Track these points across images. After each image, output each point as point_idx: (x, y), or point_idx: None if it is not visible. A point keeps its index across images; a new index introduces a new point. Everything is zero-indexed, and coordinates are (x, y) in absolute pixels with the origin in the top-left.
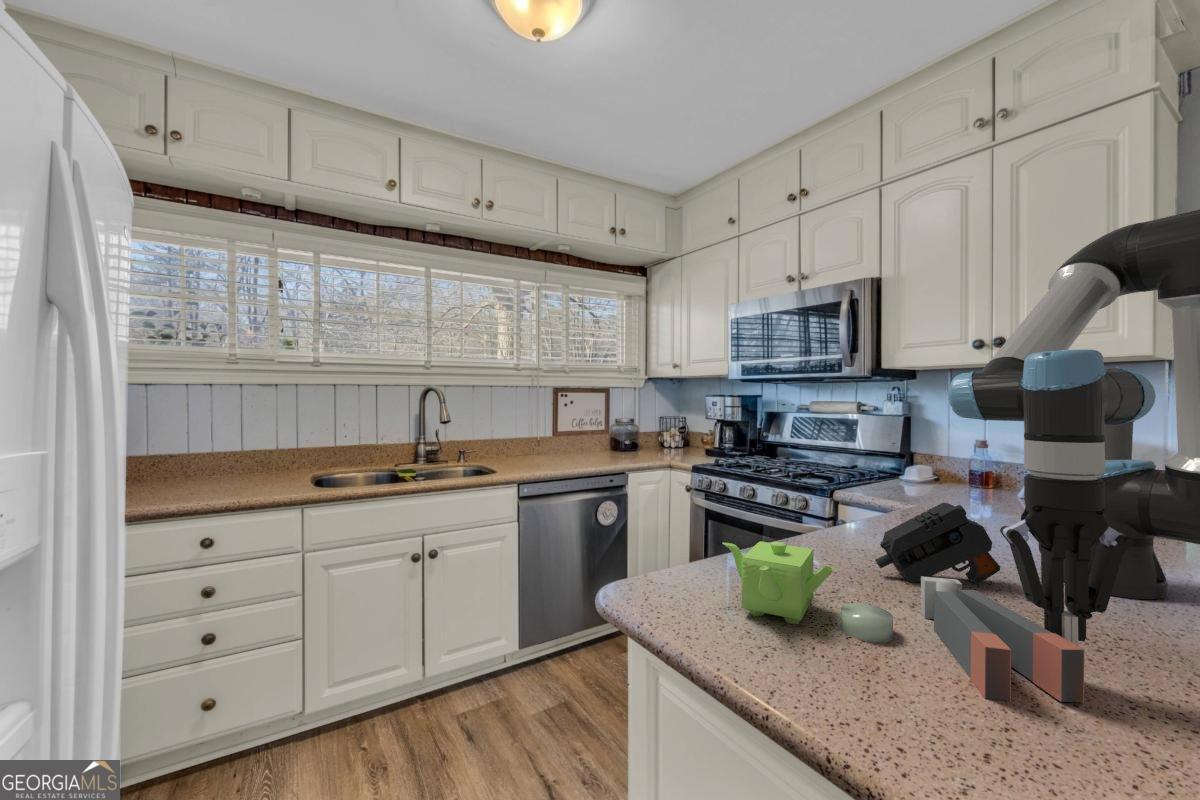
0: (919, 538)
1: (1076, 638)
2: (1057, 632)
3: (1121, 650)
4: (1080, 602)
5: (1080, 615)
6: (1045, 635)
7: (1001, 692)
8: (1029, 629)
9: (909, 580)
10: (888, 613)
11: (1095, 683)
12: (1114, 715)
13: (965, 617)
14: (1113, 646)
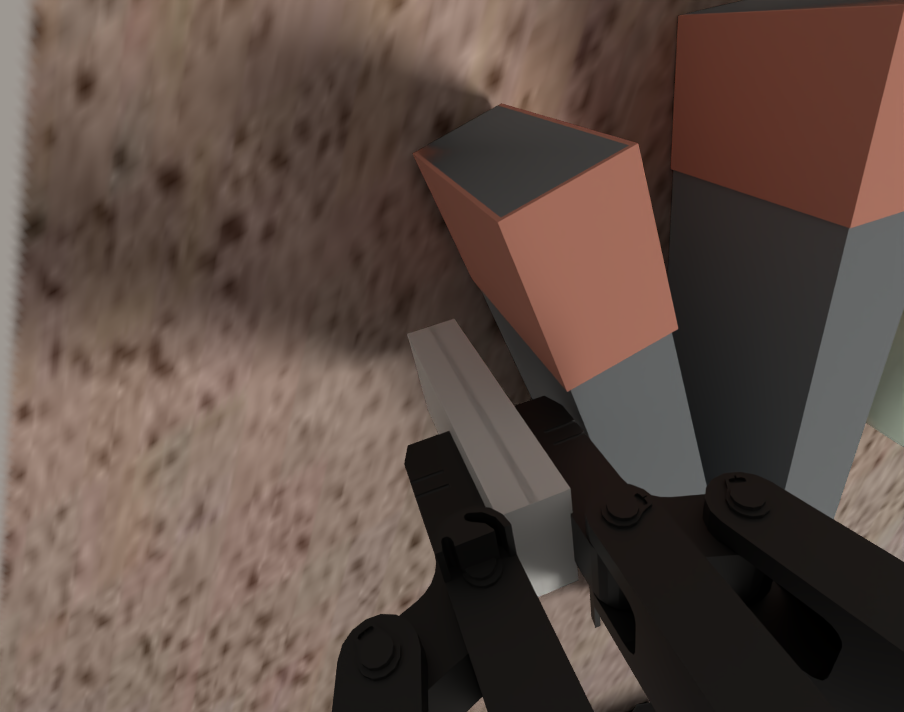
0: None
1: (457, 421)
2: (539, 424)
3: (194, 661)
4: (520, 628)
5: (500, 519)
6: (633, 325)
7: (733, 7)
8: (664, 377)
9: (651, 705)
10: (899, 414)
11: (323, 375)
12: (313, 112)
13: (857, 377)
14: (214, 672)
